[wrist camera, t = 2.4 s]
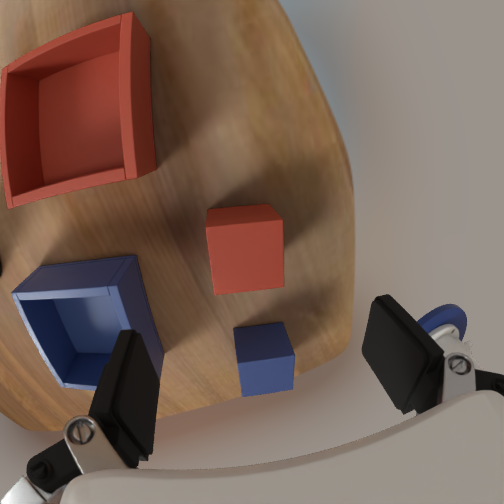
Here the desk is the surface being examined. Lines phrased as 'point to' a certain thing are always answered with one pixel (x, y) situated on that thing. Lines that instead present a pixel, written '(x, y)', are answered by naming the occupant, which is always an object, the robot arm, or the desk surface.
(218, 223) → the red block
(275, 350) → the blue block
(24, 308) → the blue bin
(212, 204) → the desk surface
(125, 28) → the red bin
